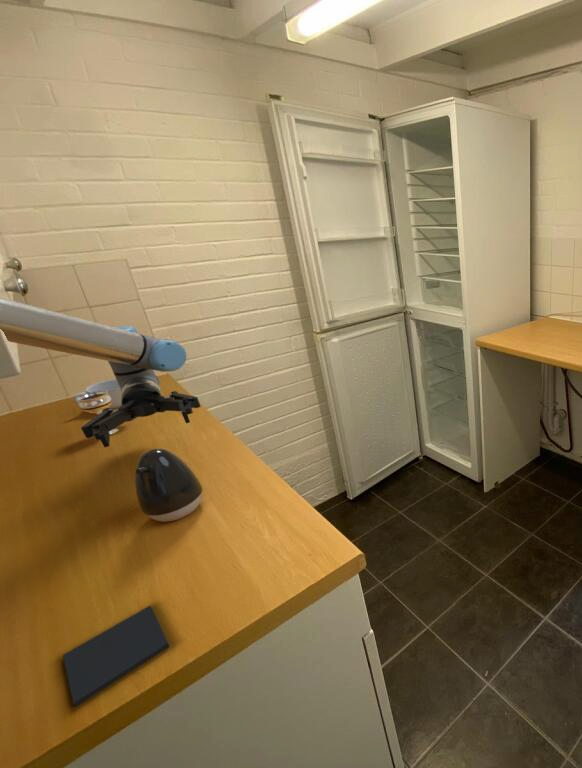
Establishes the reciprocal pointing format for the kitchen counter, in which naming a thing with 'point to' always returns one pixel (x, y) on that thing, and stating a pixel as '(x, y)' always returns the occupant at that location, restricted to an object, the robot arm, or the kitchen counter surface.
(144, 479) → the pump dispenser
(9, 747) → the kitchen counter surface
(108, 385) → the teacup
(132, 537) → the kitchen counter surface
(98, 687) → the mat
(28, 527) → the kitchen counter surface
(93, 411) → the wineglass
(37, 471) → the kitchen counter surface
